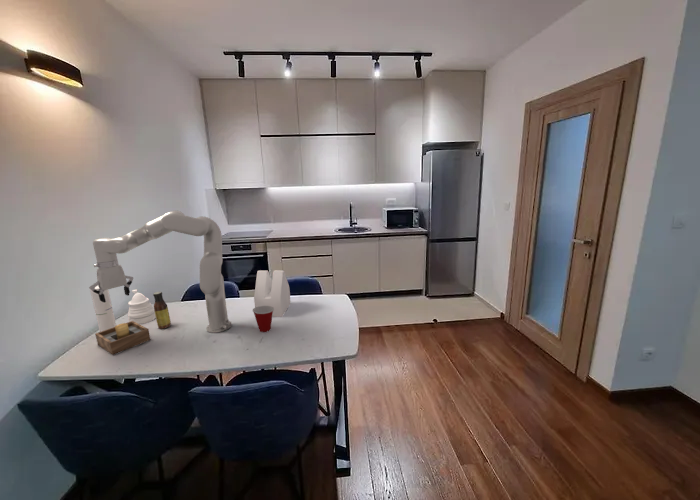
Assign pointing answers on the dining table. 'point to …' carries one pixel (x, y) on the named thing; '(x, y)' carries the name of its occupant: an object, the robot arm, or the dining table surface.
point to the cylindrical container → (103, 310)
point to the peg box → (115, 345)
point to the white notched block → (272, 291)
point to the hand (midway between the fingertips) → (115, 298)
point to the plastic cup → (263, 317)
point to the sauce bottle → (161, 311)
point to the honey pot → (140, 309)
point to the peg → (122, 330)
